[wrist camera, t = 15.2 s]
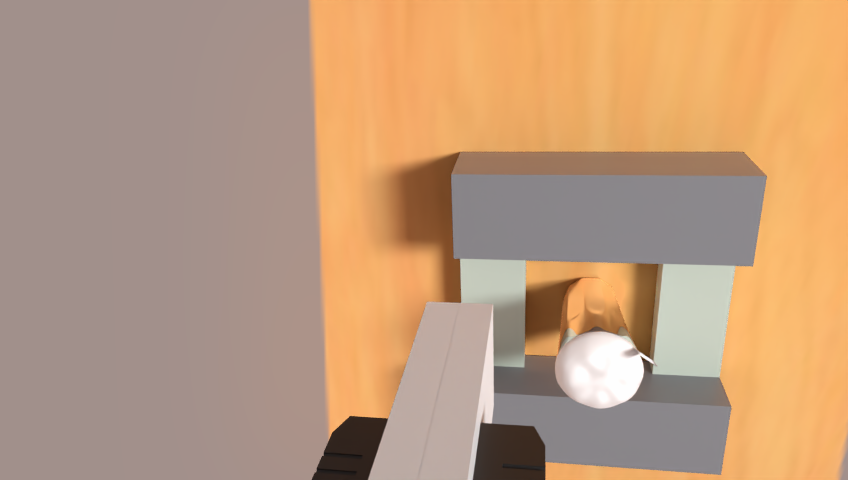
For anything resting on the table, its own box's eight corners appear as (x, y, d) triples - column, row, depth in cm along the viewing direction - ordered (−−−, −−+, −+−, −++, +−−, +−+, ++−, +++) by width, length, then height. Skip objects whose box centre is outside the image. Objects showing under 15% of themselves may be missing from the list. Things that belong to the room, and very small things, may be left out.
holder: (460, 151, 41) (451, 174, 37) (743, 151, 39) (766, 175, 35) (466, 412, 49) (459, 455, 45) (705, 427, 46) (720, 474, 42)
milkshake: (652, 301, 43) (681, 396, 34) (580, 342, 45) (589, 442, 36) (611, 247, 42) (629, 329, 33) (539, 291, 44) (537, 381, 35)
